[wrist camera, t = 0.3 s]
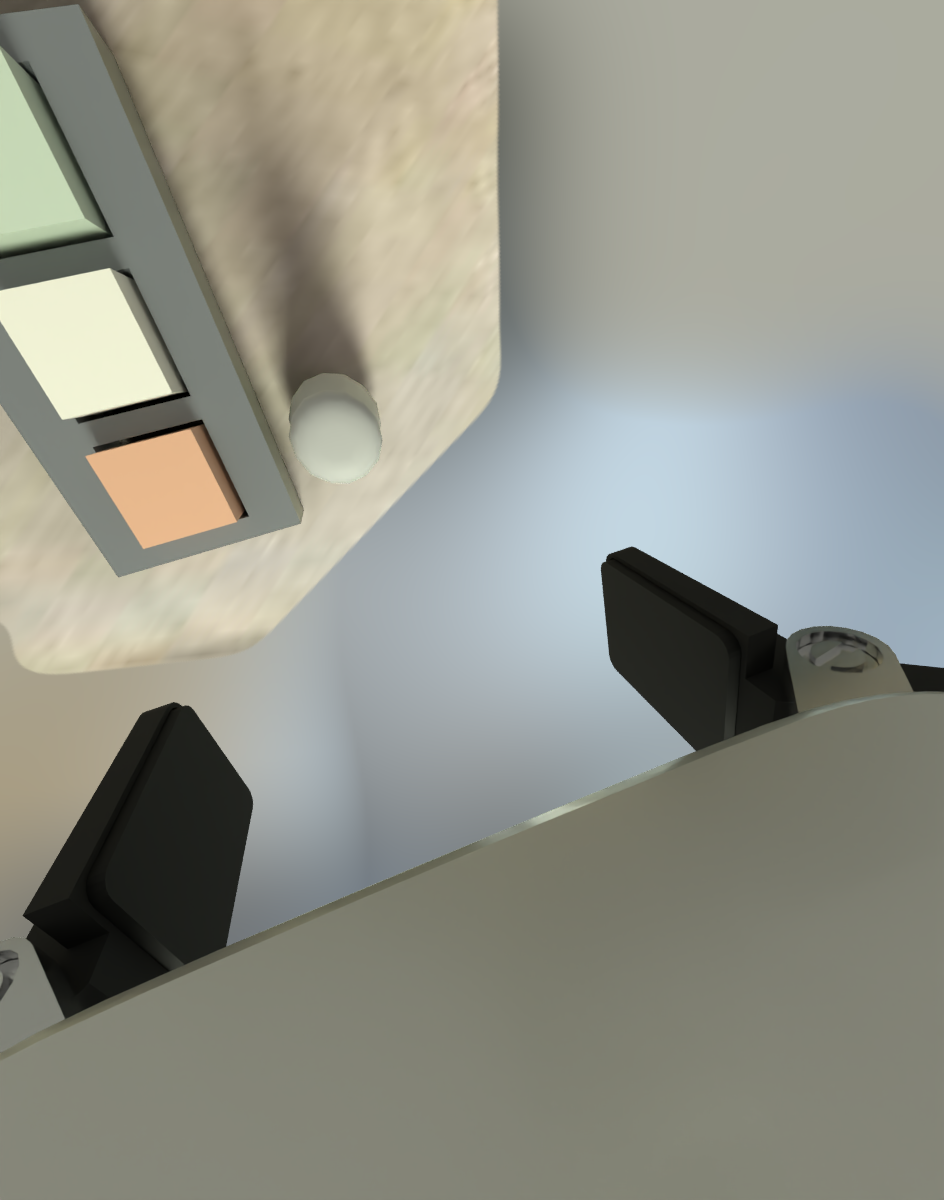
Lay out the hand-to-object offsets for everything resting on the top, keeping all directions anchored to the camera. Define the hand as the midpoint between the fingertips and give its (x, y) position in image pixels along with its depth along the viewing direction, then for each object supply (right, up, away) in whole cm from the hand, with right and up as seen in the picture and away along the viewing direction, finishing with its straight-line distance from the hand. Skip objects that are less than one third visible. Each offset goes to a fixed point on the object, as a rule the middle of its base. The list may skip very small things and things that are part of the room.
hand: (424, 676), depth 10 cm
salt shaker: (-9, +15, +22) cm, 28 cm away
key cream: (-19, +16, +16) cm, 30 cm away
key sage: (-21, +22, +12) cm, 33 cm away
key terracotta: (-18, +10, +19) cm, 28 cm away
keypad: (-20, +17, +17) cm, 31 cm away
